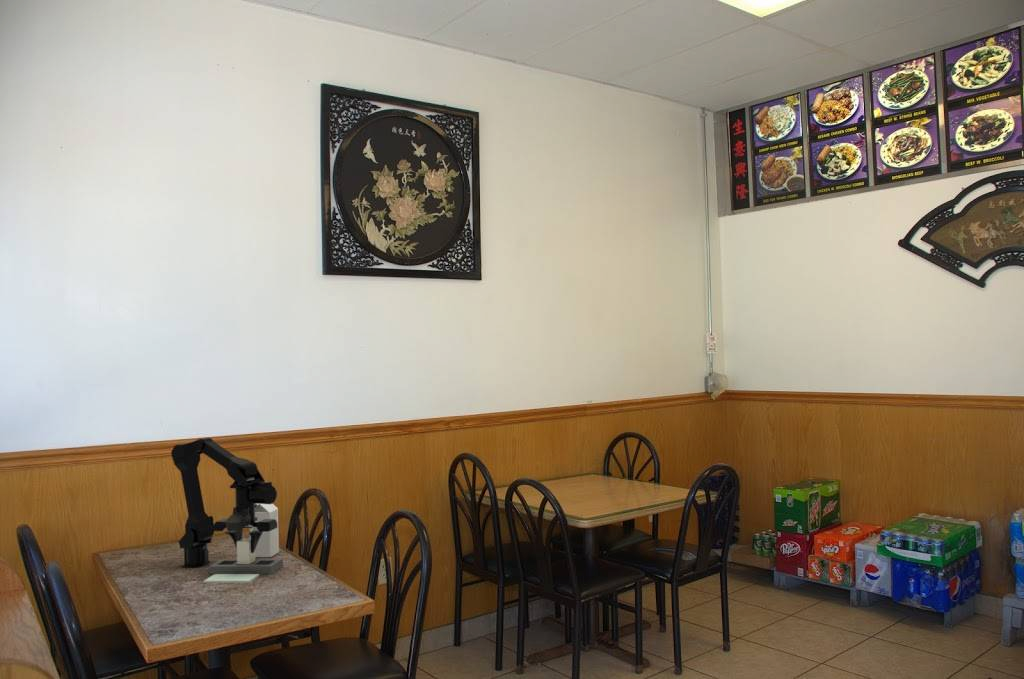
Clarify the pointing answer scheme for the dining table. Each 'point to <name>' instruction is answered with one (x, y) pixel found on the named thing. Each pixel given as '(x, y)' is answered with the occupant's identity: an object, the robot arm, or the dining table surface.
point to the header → (246, 566)
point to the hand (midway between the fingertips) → (246, 552)
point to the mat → (231, 578)
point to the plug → (244, 552)
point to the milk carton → (270, 539)
